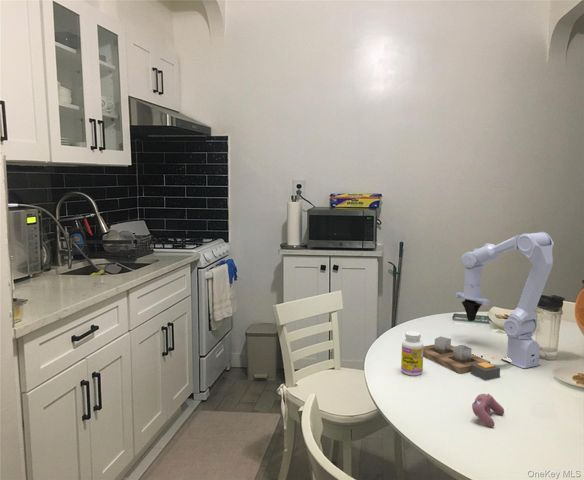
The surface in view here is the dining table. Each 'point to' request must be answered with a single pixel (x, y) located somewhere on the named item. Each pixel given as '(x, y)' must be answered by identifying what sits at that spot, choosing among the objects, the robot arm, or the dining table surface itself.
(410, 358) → the supplement bottle
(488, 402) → the video game controller
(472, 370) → the button housing
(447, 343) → the steel billet
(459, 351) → the block
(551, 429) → the dining table surface
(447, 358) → the brown board with cutouts
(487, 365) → the button
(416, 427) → the dining table surface
